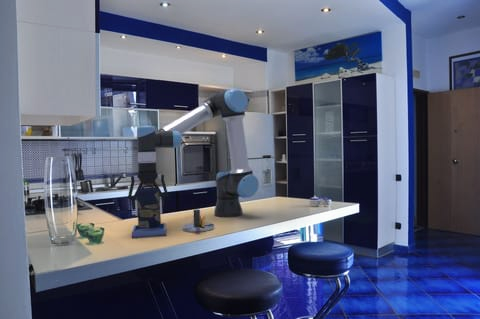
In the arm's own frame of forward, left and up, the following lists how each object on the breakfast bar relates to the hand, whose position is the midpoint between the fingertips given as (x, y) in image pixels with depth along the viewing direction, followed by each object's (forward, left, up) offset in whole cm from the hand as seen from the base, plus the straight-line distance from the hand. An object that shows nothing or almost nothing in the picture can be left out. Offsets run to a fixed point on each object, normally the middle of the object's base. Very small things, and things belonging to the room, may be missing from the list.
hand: (149, 214), depth 159 cm
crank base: (-21, -2, -8) cm, 23 cm away
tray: (0, 0, -8) cm, 8 cm away
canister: (0, 0, -6) cm, 6 cm away
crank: (-20, +2, -6) cm, 22 cm away
